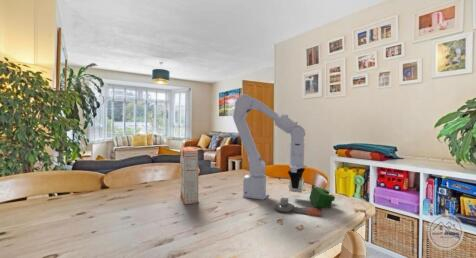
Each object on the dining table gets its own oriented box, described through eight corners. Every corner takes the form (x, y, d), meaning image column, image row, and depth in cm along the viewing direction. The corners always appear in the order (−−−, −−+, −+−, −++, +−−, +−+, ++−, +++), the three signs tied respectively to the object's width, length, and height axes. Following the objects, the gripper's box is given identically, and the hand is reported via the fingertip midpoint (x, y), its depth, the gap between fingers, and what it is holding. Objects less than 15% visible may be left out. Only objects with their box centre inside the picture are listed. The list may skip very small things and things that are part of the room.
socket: (289, 191, 105) (289, 179, 105) (291, 188, 109) (291, 176, 109) (301, 192, 103) (301, 180, 103) (303, 189, 108) (303, 178, 107)
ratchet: (272, 211, 91) (272, 200, 91) (277, 205, 98) (277, 195, 97) (320, 218, 85) (321, 206, 85) (322, 211, 92) (322, 200, 91)
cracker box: (179, 195, 110) (179, 147, 110) (193, 193, 112) (193, 146, 112) (182, 205, 97) (183, 150, 96) (198, 203, 99) (198, 150, 98)
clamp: (327, 219, 96) (337, 201, 92) (312, 215, 96) (321, 196, 92) (322, 198, 107) (330, 181, 103) (308, 194, 107) (316, 177, 103)
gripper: (304, 157, 97) (303, 192, 98) (308, 152, 111) (308, 183, 111) (286, 155, 100) (285, 190, 101) (292, 152, 114) (291, 182, 114)
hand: (296, 186), depth 106 cm, fingers closed on socket, 5 cm apart
